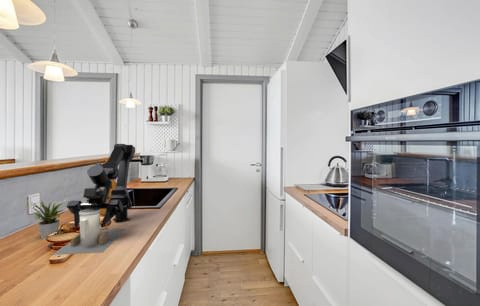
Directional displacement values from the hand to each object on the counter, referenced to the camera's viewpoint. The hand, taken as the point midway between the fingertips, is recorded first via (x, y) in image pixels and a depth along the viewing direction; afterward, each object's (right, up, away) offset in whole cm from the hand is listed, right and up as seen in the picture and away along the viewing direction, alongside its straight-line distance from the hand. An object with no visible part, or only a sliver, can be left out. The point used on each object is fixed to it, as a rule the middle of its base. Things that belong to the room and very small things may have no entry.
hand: (88, 227), depth 90 cm
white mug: (0, -6, 0) cm, 6 cm away
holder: (-1, -7, +4) cm, 9 cm away
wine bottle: (-16, -6, +45) cm, 48 cm away
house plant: (-23, -7, +9) cm, 26 cm away
